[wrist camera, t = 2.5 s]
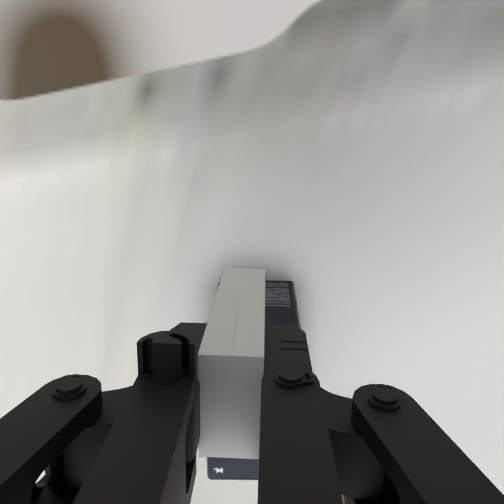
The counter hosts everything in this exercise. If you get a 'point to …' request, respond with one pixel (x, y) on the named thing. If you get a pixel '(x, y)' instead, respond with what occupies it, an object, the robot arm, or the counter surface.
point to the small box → (276, 313)
